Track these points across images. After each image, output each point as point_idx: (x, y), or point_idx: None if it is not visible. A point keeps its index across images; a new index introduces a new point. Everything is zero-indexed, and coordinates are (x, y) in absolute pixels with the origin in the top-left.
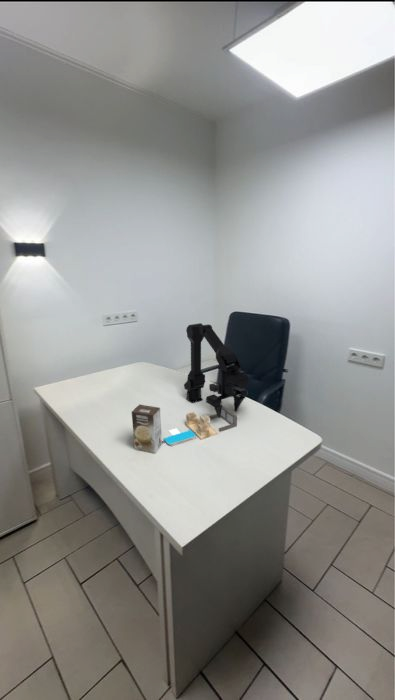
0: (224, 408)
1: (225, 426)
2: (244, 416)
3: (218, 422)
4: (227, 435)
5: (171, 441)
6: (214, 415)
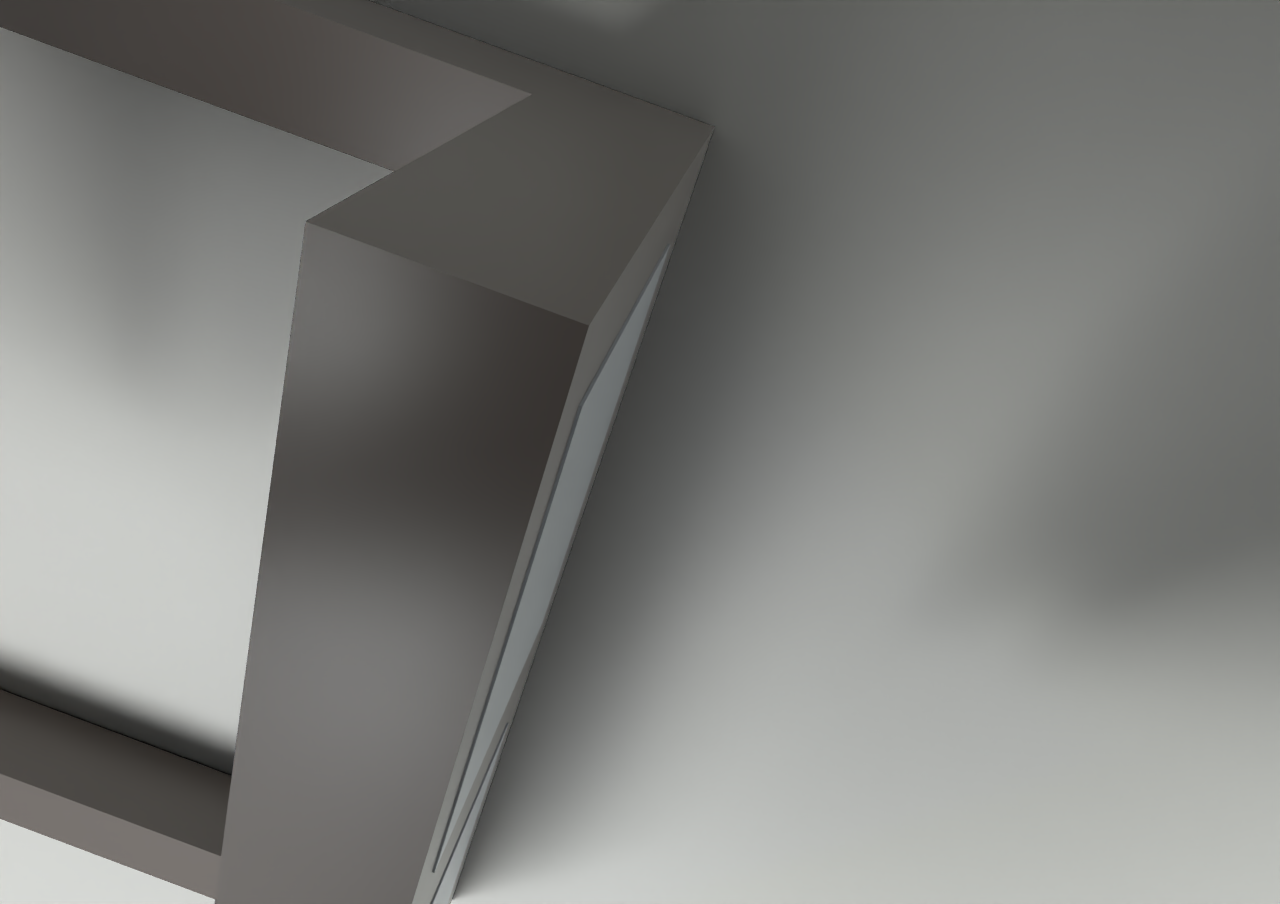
0: (334, 787)
1: (70, 816)
2: (1149, 879)
3: (184, 412)
4: (8, 881)
5: None
6: (206, 69)
